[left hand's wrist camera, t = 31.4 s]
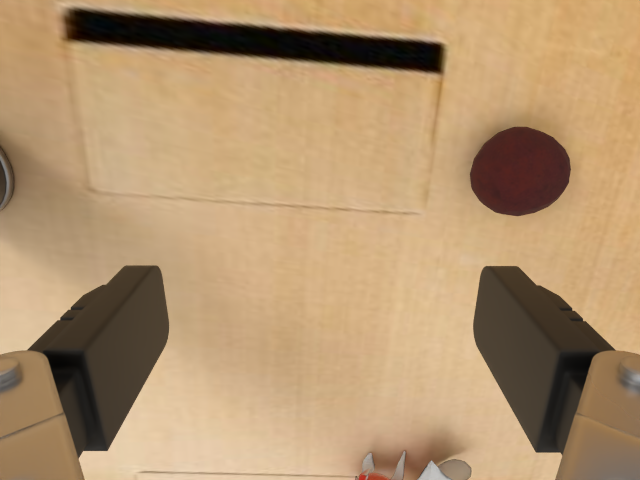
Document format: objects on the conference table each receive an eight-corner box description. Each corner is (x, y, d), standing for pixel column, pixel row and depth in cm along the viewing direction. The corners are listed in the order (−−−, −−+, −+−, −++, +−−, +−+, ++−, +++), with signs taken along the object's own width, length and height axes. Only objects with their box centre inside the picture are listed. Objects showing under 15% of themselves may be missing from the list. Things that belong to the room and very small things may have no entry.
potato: (552, 181, 41) (596, 203, 35) (473, 214, 43) (501, 241, 36) (532, 107, 39) (575, 116, 32) (449, 144, 40) (474, 160, 34)
